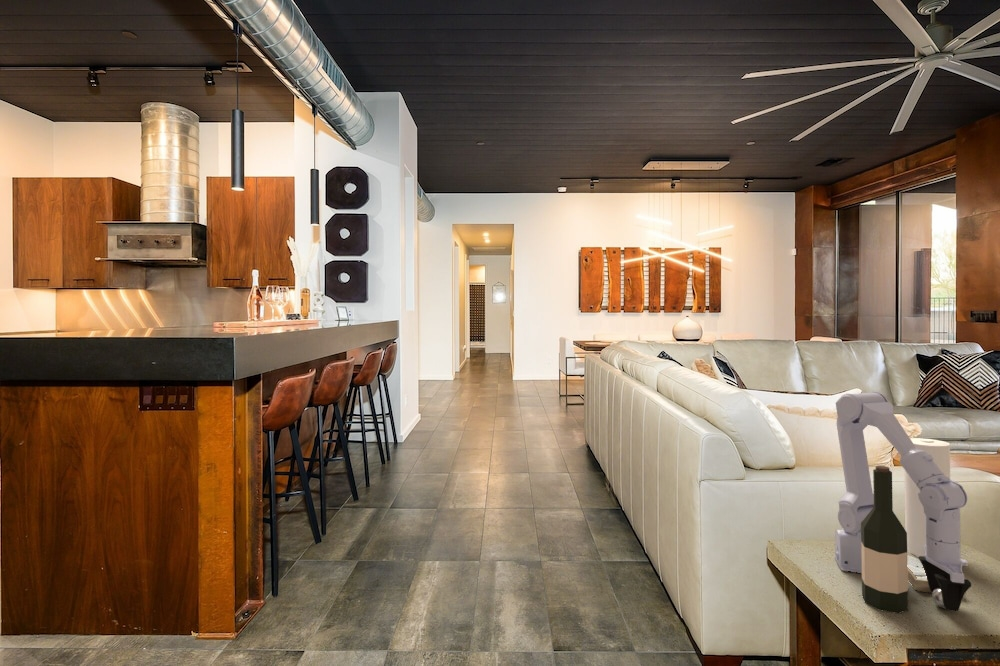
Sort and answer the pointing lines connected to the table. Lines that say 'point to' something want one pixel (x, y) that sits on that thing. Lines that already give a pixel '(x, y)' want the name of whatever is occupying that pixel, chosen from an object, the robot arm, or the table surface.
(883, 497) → the wine bottle
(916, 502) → the paper towel roll
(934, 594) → the ball
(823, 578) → the table surface
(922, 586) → the tray
